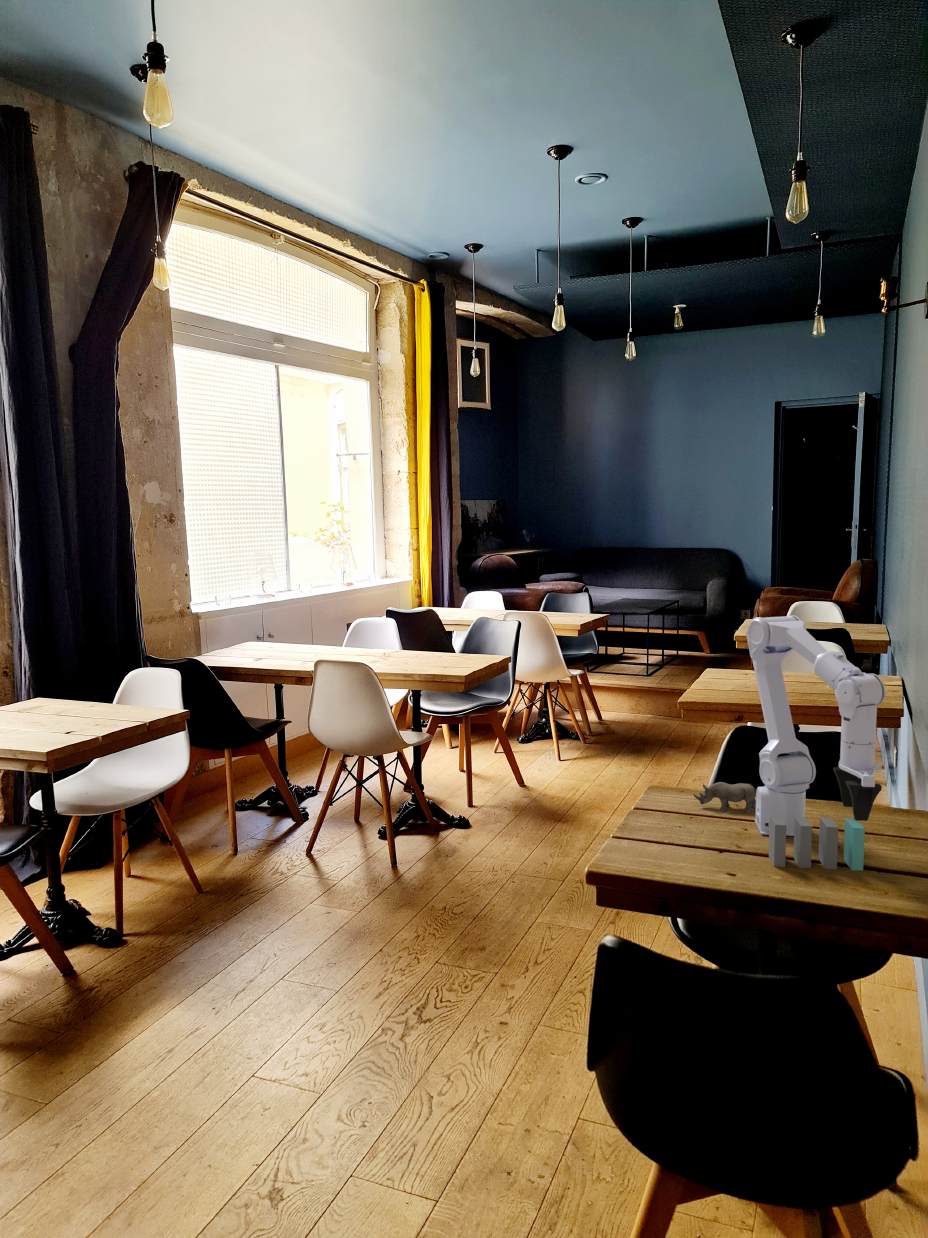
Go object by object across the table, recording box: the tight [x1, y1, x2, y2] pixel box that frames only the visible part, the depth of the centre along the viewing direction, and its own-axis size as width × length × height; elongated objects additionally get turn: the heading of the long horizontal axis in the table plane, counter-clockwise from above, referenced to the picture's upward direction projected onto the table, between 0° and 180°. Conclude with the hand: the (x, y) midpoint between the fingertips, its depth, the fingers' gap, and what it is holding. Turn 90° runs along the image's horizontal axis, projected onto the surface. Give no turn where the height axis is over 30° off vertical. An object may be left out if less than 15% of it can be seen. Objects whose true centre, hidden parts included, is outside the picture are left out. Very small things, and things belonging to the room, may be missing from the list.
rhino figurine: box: [692, 781, 757, 813], centre depth 189 cm, size 4×14×6 cm, turn 78°
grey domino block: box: [817, 816, 839, 870], centre depth 158 cm, size 2×5×8 cm, turn 171°
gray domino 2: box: [793, 816, 813, 869], centre depth 159 cm, size 2×5×8 cm, turn 171°
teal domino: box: [843, 817, 866, 872], centre depth 158 cm, size 2×5×8 cm, turn 172°
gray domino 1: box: [768, 816, 787, 868], centre depth 160 cm, size 2×5×8 cm, turn 171°
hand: (855, 813), depth 157 cm, fingers open, 7 cm apart
